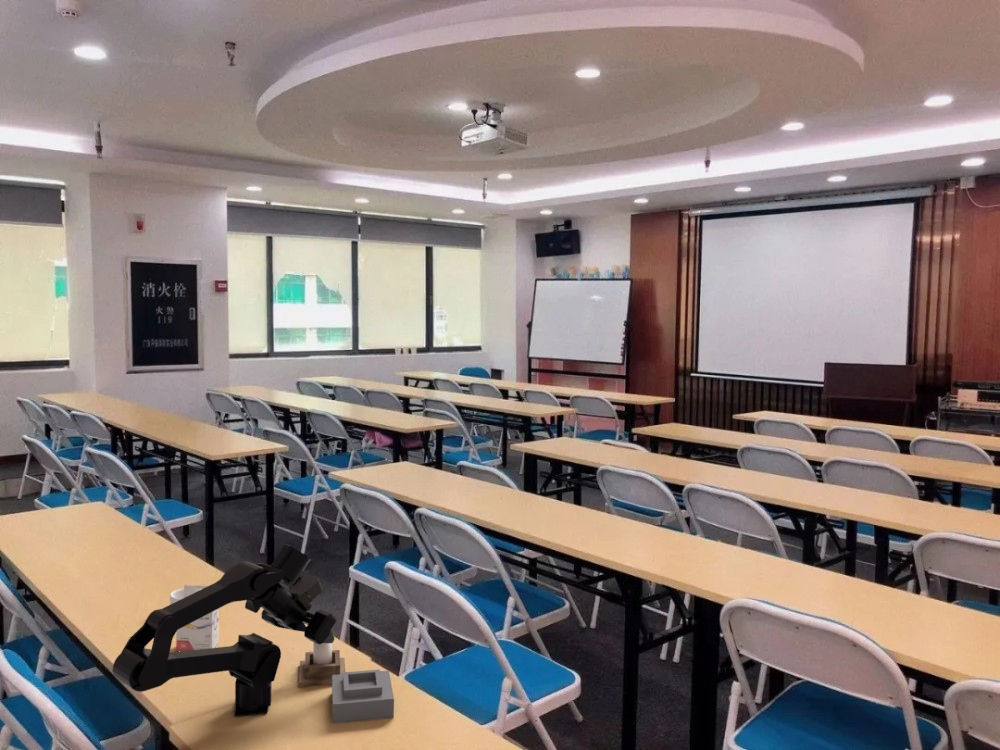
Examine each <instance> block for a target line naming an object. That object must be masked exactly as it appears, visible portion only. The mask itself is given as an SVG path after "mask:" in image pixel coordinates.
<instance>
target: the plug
mask: <svg viewBox="0 0 1000 750" xmlns="http://www.w3.org/2000/svg"><path fill="white" fill-rule="evenodd" d="M332 650H333V643H322V644H320V645H319V644H317V643H314V642H313V651H312V652H313V665H323V664H332Z"/></svg>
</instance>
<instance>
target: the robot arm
mask: <svg viewBox="0 0 1000 750" xmlns="http://www.w3.org/2000/svg"><path fill="white" fill-rule="evenodd" d="M310 561H311V558H310V557H309V555H308V554H306V553H304V552H302V551H300V550H298V549H297V548H295V547H293V546H292V545H290V544H287V543H285V544H283V546H282V547H281V548H280V551H279V553H278V554H277V556H276V557H275V559H274V560H273V562H272V563H271V564H270V565H269V564H266V563H264V562H260V563H252V562H250V561H247V560H246V561H245V560H243V561H240V562H238V563H237V564H235V565H233V566H232V567H231V568H229V569H228V570H226V571H225V572H224V573H223V575H222V576H221V578H220V579H219V580H217V581H216V582H214V583H212V584H209V585H207V586H208V587H206V588H203V589H199V591H197V592H195V593H193V594H191V595H189V596H187V597H185V598H183V599H181V600H179V601H177V602H175V603H173V604H171V605H170V604H169V605H167V606H165V607H162V608H159V609H155V610H153V611H152V612H150V613H149V615H148V616H147V618H146V619H145V621H144V623H143V624H142V626H141V627H140V628H139V629H137V631H135V632H134V634H132V636H130V637H129V639H128V640H127V641H126V644H125V645H124V647H123V649H122V650H121V652H120V654H118V656H117V657H116V658H115V660H114V663H113V664H112V672H113V673H112V674H113V676H114V678H116V679H117V680H118V681H120V682H121V683H122V684H124V685H126V686H127V687H129V688H130V689H131V690H133V691H135V692H139V693H143V692H147V691H150V690H152V689H156V688H159V687H161V686H163V685H164V684H165V683H168V681H170V680H172V679H174V678H175V679H176V678H183V677H190V676H198V675H204V674H205V675H207V674H213V673H219V672H220V673H221V672H227V671H228V673H229V676H230V677H233V678H235V683H234V687H235V688H234V695H235V696H234V697H235V698H234V701H235V702H234V706H235V707H234V712H233V717H243V716H244V717H246V716H256V715H265V714H268V713H269V707H271V705H272V693H273V692H272V689H273V688H272V682H275V679H276V675H277V673H278V672H277V671H278V669H279V663H280V661H281V657H282V651H281V648H280V646H279V645H276V644H274V642H273V641H272V640H270V639H268V638H265V637H263V636H261V635H259V634H257V633H254V632H252V633H250V634H246V635H245V634H238V637H237V641H236V642H235V643H234V644H233V645H230V646H217V647H215V648H209V649H199V650H189V651H180V652H179V651H178V652H177V651H171V647H172V643H173V639H174V637H175V636H176V635H175V634H176V631H177V630H178V629H180V628H182V627H184V626H186V625H188V624H190V623H192V622H194V621H196V620H198V619H200V618H201V617H203V616H205V615H207V614H209V613H211V612H213V611H215V610H217V609H221V608H223V607H224V606H227V605H228V604H232V603H235V602H243V601H246V602H245V603H244V604H245V605H244V608H245V609H246V610H248V611H251V612H253V613H254V614H257V613H258V612H259V611H260V609H261V608H262V609H263V610H262V611H261V620H263V621H264V622H266V623H268V624H270V625H271V626H274V627H277V628H281V629H287V630H292V631H296V632H303V634H304V638H306V639H307V640H309V641H311V642H313V644H314V643H317V644H319V645H320V644H322V643H332V644H333V643H334V641H335V639H336V638H335V636H334V634H333V631H332V629H333V627H334V626H335V624H336V622H337V617H336V616H334V615H333V613H330V612H328V611H325V610H323V609H319V610H316V611H315V612H314V613H312V612H309V611H310V609H311V608H312V606H313V605H312V604H311V602H312V601H314V600H315V599H316V598H317V597H318V596H319V595H321V594H322V593H323V592H324V589H323V587H322V585H321V582H320V579H319V578H318V577H315V576H312V575H309V574H306V575H305V574H302V573H303V572H304V570H305V569H306V567H308V564H310ZM282 584H284V585H286V586H288V587H289V589H286V588H285V587H284V586H283V585H282ZM151 641H152V645H151V648H146V647H147V645H148V644H149V643H150V642H151Z"/></svg>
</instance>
